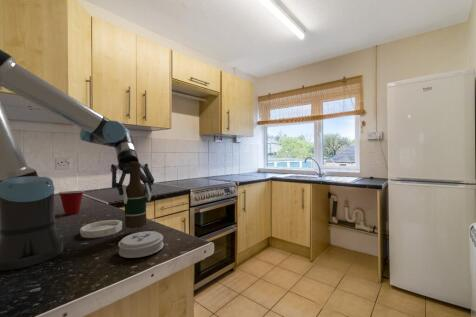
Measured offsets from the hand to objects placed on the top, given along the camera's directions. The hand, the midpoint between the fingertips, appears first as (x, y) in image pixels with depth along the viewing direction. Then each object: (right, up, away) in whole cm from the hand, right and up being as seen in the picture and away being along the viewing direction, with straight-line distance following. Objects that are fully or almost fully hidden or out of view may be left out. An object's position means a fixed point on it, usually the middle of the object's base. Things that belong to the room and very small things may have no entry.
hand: (138, 199), depth 80 cm
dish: (-17, -14, +6) cm, 22 cm away
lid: (+7, -14, -12) cm, 20 cm away
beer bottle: (-2, -10, +3) cm, 11 cm away
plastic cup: (-50, -14, +35) cm, 63 cm away
